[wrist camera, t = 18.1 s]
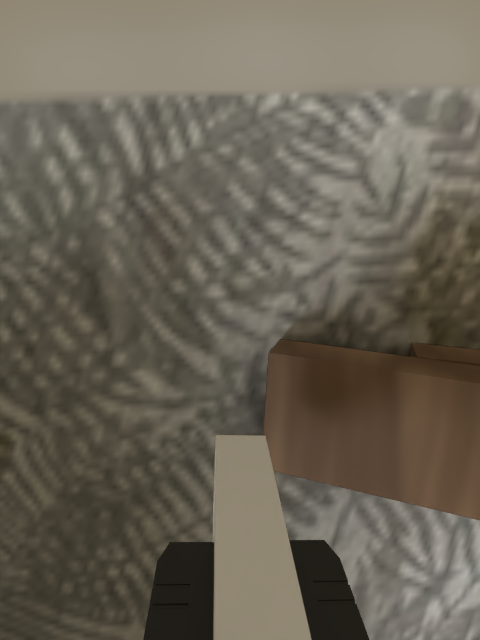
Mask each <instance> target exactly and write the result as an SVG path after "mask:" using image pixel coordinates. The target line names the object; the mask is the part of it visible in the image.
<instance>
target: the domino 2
mask: <svg viewBox="0 0 480 640" xmlns="http://www.w3.org/2000/svg"><path fill="white" fill-rule="evenodd" d="M410 357H416V358H423V359H431V360H438V361H445V362H453V363H460V364H467V365H475V366H480V350H476V349H467V348H457V347H448V346H439V345H429V344H420V343H412V346H411V354H410Z"/></svg>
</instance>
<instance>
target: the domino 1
mask: <svg viewBox="0 0 480 640" xmlns="http://www.w3.org/2000/svg"><path fill="white" fill-rule="evenodd" d="M263 436H266V440H267V445H268V449H269V454H270V458H271V463H272V467H273V471H275V472H279V473H284V474H288V475H292V476H296V477H300V478H305V479H309V480H313V481H317V482H321V483H326V484H330V485H334V486H338V487H342V488H347V489H351V490H355V491H359V492H363V493H368V494H372V495H376V496H380V497H384V498H389V499H393V500H397V501H401V502H405V503H410V504H414V505H418V506H422V507H426V508H431V509H435V510H439V511H443V512H447V513H451V514H456V515H460V516H464V517H468V518H472V519H477V520H480V366H475V365H467V364H460V363H453V362H445V361H438V360H431V359H423V358H416V357H409V356H401V355H394V354H386V353H379V352H372V351H364V350H357V349H350V348H342V347H335V346H328V345H320V344H313V343H306V342H298V341H291V340H284V339H280V340H279V341H278V342H277V344H276V345H275V346H274V347H273V348H272V349H271V350H270V352H269V355H268V370H267V385H266V400H265V415H264V430H263Z"/></svg>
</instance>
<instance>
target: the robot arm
mask: <svg viewBox="0 0 480 640" xmlns="http://www.w3.org/2000/svg"><path fill="white" fill-rule="evenodd" d="M143 640H369V637H368V635H367V632H366V629H365V626H364V624H363V621H362V618H361V615H360V613H359V610H358V607H357V604H355V599H354V596H353V594H352V591H351V588H350V585H348V580H347V577H346V574H345V572H344V569H343V566H342V563H341V561H340V558H339V557H338V556H337V555H336V554H335V552H334V551H333V550H332V549H331V548H330V546H329V545H328V544H327V543H326V542H325V541H324V540H289V538H288V533H287V529H286V524H285V520H284V516H283V511H282V507H281V502H280V498H279V493H278V489H277V485H276V480H275V476H274V471H273V467H272V463H271V458H270V454H269V449H268V445H267V440H266V436H252V435H216V444H215V473H214V502H213V542H170V543H169V545H168V546H167V548H166V549H165V551H164V552H163V554H162V555H161V557H160V558H159V560H158V561H157V566H156V572H155V578H154V583H153V589H152V594H151V600H150V608H149V611H148V617H147V623H146V628H145V634H144V639H143Z"/></svg>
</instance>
